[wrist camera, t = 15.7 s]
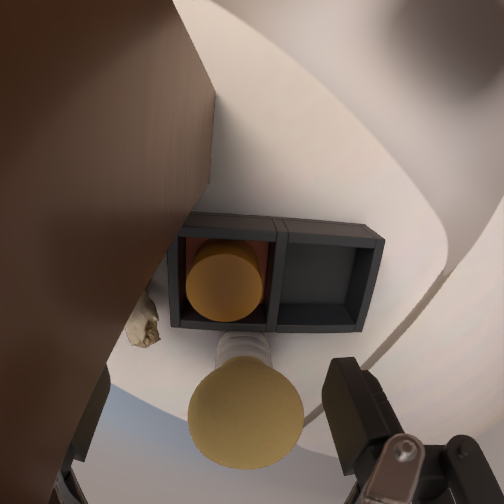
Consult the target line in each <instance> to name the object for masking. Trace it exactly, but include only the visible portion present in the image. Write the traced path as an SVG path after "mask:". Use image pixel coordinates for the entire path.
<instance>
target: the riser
mask: <svg viewBox="0 0 504 504" xmlns="http://www.w3.org/2000/svg"><path fill="white" fill-rule="evenodd" d="M215 93H216V91H215V89H214V87H213V85H212V83H211V81H210V78H209V76H208V74H207V72H206V70H205V68H204V66H203V63H202V61H201V59H200V57H199V55H198V53H197V51H196V49H195V46H194V44H193V42H192V40H191V38H190V36H189V34H188V32H187V30H186V28H185V26H184V24H183V22H182V20H181V17H180V15H179V13H178V11H177V9H176V7H175V5H174V3H173V1H172V0H0V504H48V502H49V499H50V496H51V493H52V490H53V487H54V484H55V481H56V479H57V476H58V473H59V470H60V468H61V465H62V462H63V460H64V457H65V455H66V452H67V450H68V447H69V445H70V442H71V440H72V437H73V435H74V433H75V430H76V428H77V425H78V423H79V421H80V418H81V416H82V414H83V412H84V409H85V407H86V405H87V403H88V400H89V398H90V396H91V394H92V392H93V389H94V387H95V385H96V383H97V381H98V379H99V377H100V375H101V372H102V370H103V368H104V366H105V364H106V362H107V360H108V358H109V356H110V354H111V352H112V350H113V348H114V346H115V344H116V342H117V340H118V338H119V336H120V334H121V332H122V331H123V329H124V327H125V325H126V323H127V321H128V319H129V317H130V315H131V313H132V312H133V310H134V308H135V306H136V304H137V302H138V301H139V299H140V297H141V295H142V293H143V292H144V290H145V288H146V286H147V284H148V283H149V281H150V279H151V277H152V276H153V274H154V272H155V270H156V269H157V267H158V265H159V263H160V262H161V260H162V258H163V257H164V255H165V253H166V252H167V250H168V248H169V246H170V245H171V243H172V241H173V240H174V238H175V237H176V235H177V233H178V232H179V230H180V228H181V227H182V225H183V223H184V222H185V220H186V219H187V217H188V215H189V214H190V212H191V211H192V209H193V208H194V206H195V204H196V203H197V201H198V200H199V198H200V197H201V195H202V193H203V192H204V190H205V189H206V187H207V186H208V184H209V180H210V162H211V146H212V131H213V118H214V105H215Z"/></svg>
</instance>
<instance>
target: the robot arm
mask: <svg viewBox="0 0 504 504" xmlns="http://www.w3.org/2000/svg"><path fill="white" fill-rule="evenodd" d="M110 384H111V383H110V375H109V371H108V368H107V364H105V366H104V368H103V370H102V372H101V375H100V377H99V379H98V381H97V383H96V385H95V387H94V389H93V392H92V394H91V396H90V398H89V400H88V403H87V405H86V407H85V409H84V412H83V414H82V416H81V418H80V421H79V423H78V425H77V428H76V430H75V433H74V435H73V437H72V440H71V442H70V445H69V447H68V450H67V452H66V455H65V457H64V460H63V462H62V465H61V468H60V470H59V473H58V476H57V479H56V481H55V484H54V487H53V490H52V493H51V496H50V499H49V502H48V504H88V502H87V500H86V498H85V496H84V494H83V492H82V490H81V488H80V486H79V483H78V481H77V479H76V477H75V474H74V472H73V470H72V468H71V464H72V461H73V459H75V460H78V461H82V462H85V458H86V455H87V452H88V449H89V446H90V443H91V440H92V437H93V435H94V432H95V429H96V426H97V424H98V421H99V418H100V415H101V413H102V410H103V407H104V405H105V402H106V399H107V397H108V394H109V391H110ZM322 403H323V407H324V410H325V413H326V417H327V420H328V423H329V427H330V430H331V433H332V437H333V440H334V443H335V447H336V450H337V453H338V457H339V460H340V464H341V467H342V470H343V474H344V476H347V475H352V474H355V475H356V478H357V481H356V483H355V485H354V486H353V488H352V490H351V492H350V494H349V496H348V498H347V499H346V501H345V503H344V504H411V502H412V504H455V502H456V504H504V495H503V493H502V491H501V489H500V487H499V484H498V483H497V480H496V478H495V476H494V474H493V472H492V470H491V468H490V466H489V464H488V462H487V460H486V458H485V456H484V454H483V452H482V450H481V449H480V446H479V445H478V443H477V442H476V441H475V440H474V439H473V438H471V437H470V436H467V435H456V436H454V437H453V438H451V439H450V441H449V442H448V443H447V444H446V445H423V444H422V442H421V441H420V440H419V439H418V438H416V437H414V436H412V435H410V434H405V432H404V431H403V429H402V427H401V425H400V423H399V421H398V419H397V417H396V415H395V413H394V411H393V409H392V407H391V405H390V403H389V401H387V397H386V395H385V393H384V392H383V389H382V387H381V385H380V383H379V382H378V380H377V378H376V377H374V376H373V375H372V374H371V373H370V372H369V371H368V370H361V369H360V367H359V365H358V363H357V361H356V359H355V358H354V357H346V358H333V359H332V360H331V363H330V366H329V369H328V372H327V375H326V379H325V382H324V385H323V388H322ZM450 489H451V491H450ZM451 492H452V494H453V497H454V499H455V502H454V499H453V497H452V494H451Z"/></svg>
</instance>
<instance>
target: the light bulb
mask: <svg viewBox="0 0 504 504" xmlns="http://www.w3.org/2000/svg"><path fill="white" fill-rule="evenodd" d="M216 353H217V354H216V365H215V370H214V371H213V372H211V373H210V374H209V375H208V376H207V377H205V378H204V379H203V380H202V381H201V382H200V384H199V385H198V386H197V388H196V389H195V391H194V393H193V395H192V397H191V400H190V404H189V409H188V424H189V430H190V433H191V436H192V439H193V441H194V443H195V445H196V447H197V448H198V449H199V450H200V452H201V453H202V454H203V455H205V456H206V457H207V458H208V459H210V460H212V461H214V462H216V463H218V464H220V465H223V466H227V467H230V468H235V469H258V468H263V467H266V466H269V465H271V464H273V463H276V462H277V461H279V460H280V459H282V458H283V457H284V456H285V455H286V454H288V453H289V452H290V451H291V450H292V448H293V447H294V445H295V444H296V442H297V441H298V439H299V437H300V435H301V432H302V429H303V424H304V410H303V405H302V401H301V399H300V396H299V394H298V392H297V390H296V389H295V387H294V386H293V385H292V384H291V383H290V381H289V380H288V379H287V378H286V377H284V376H283V375H282V374H281V373H279V372H278V371H276V370H275V369H273V368H272V363H271V355H270V348H269V344H268V341H267V339H266V338H265V337H264V336H263V335H262V334H261V333H259V332H238V331H229V332H227V333H225V334H224V335H223V336H222V337H221V338H220V340H219V341H218V344H217V352H216Z"/></svg>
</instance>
